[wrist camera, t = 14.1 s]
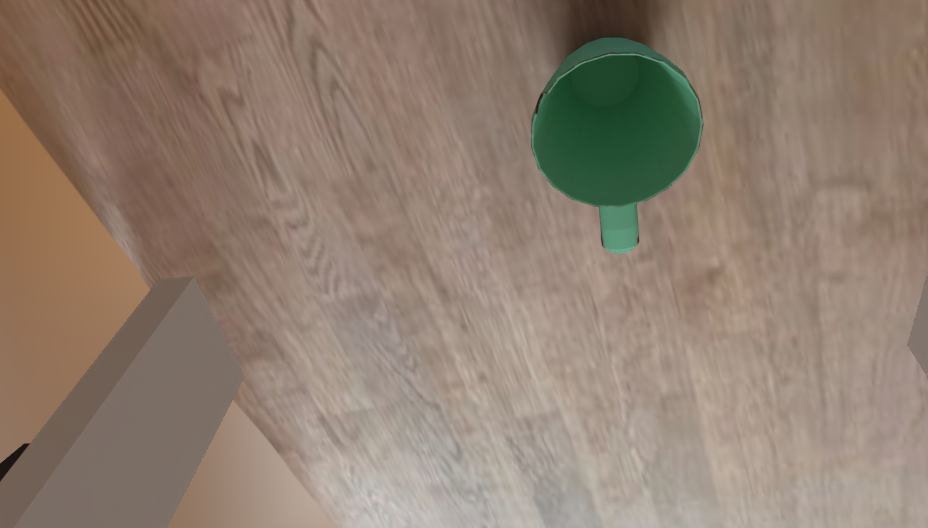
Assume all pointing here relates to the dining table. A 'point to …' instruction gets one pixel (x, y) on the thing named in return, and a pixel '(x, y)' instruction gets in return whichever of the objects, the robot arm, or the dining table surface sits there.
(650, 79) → the mug
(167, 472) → the robot arm
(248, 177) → the dining table surface
